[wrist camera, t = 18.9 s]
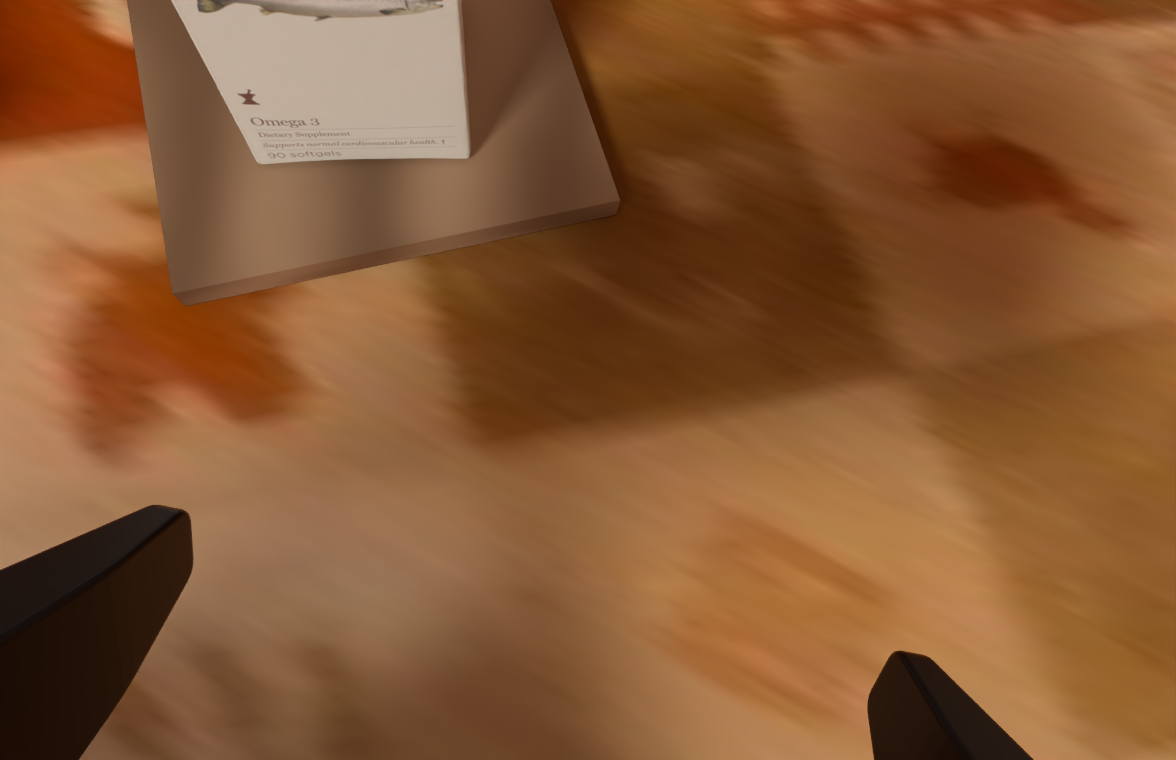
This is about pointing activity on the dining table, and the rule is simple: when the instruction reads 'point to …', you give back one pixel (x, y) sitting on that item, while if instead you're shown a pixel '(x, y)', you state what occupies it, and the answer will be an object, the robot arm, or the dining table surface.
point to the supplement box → (338, 76)
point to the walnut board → (367, 164)
